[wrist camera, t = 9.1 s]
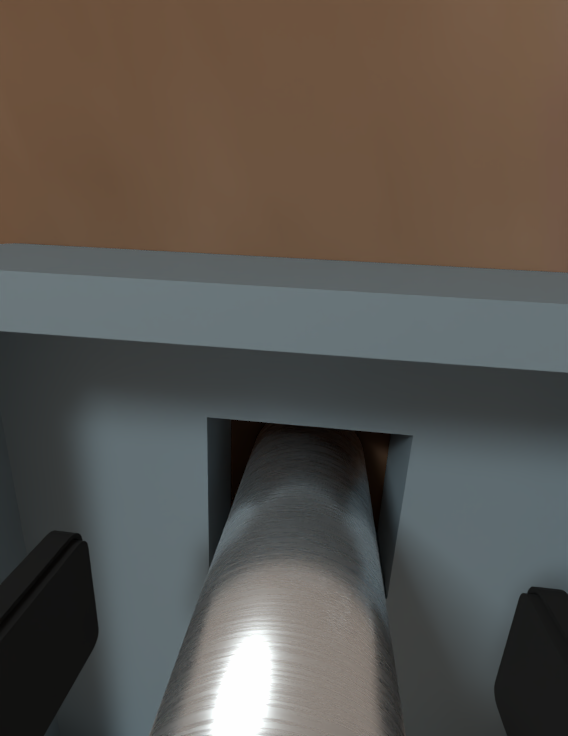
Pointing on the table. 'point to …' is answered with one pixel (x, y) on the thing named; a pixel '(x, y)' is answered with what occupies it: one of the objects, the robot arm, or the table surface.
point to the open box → (294, 407)
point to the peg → (291, 604)
